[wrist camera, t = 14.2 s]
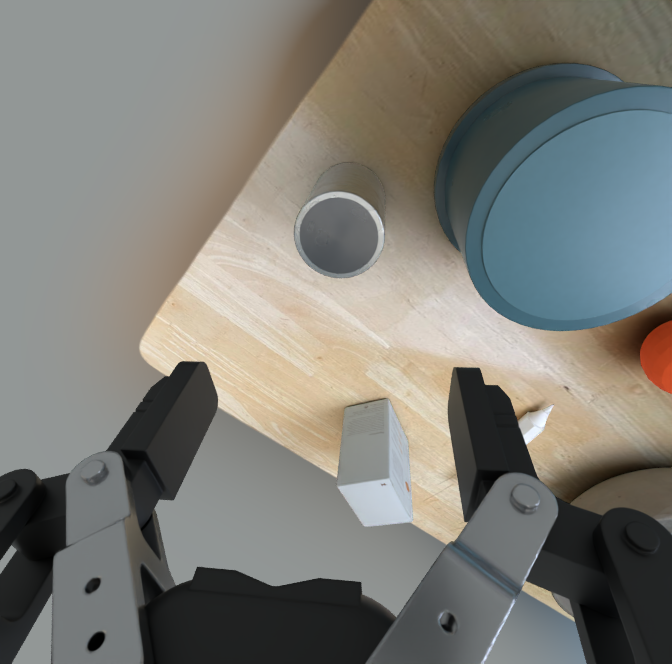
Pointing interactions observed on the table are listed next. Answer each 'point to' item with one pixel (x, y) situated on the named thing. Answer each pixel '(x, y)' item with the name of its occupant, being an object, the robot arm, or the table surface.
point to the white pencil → (533, 423)
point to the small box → (375, 465)
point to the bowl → (629, 501)
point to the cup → (342, 222)
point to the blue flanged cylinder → (562, 196)
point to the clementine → (658, 356)
